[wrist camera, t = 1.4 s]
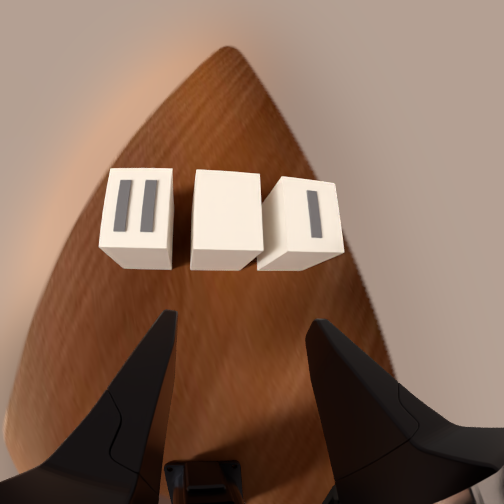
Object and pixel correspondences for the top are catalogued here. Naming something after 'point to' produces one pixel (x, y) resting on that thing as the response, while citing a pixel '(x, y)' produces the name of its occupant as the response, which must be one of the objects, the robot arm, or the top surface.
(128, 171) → the marked block two
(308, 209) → the marked block one
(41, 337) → the top surface
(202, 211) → the plain block
